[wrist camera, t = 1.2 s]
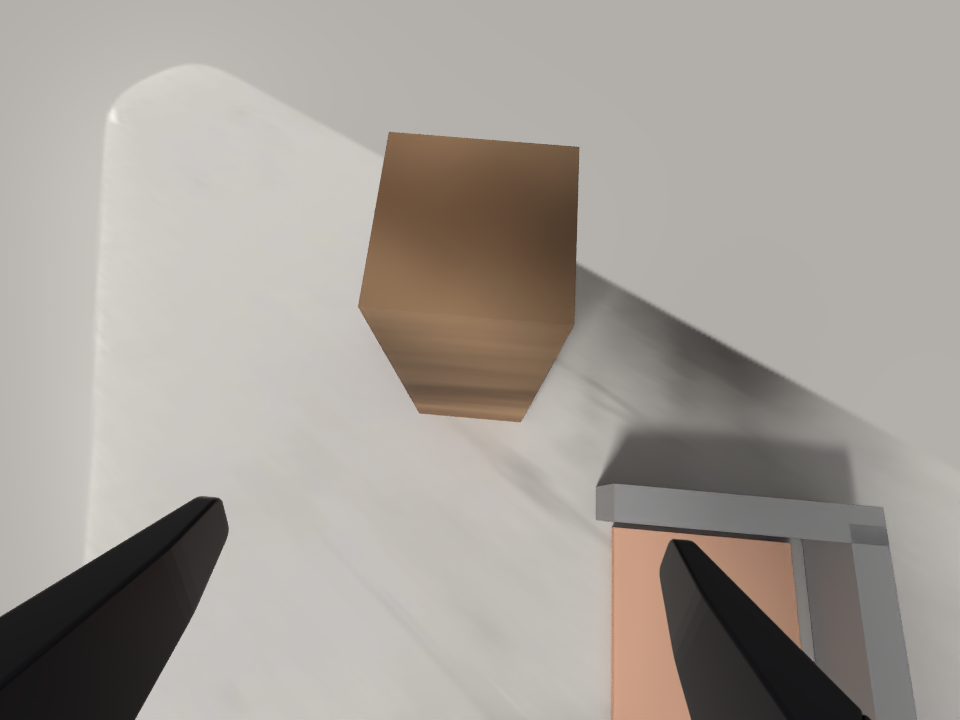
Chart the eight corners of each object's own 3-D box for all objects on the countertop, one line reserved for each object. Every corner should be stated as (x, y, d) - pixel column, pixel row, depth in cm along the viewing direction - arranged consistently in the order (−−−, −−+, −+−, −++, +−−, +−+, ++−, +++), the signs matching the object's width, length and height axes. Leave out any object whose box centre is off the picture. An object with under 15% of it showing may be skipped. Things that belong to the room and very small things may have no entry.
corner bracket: (878, 881, 18) (954, 951, 15) (591, 853, 18) (614, 917, 15) (830, 507, 22) (882, 507, 19) (596, 486, 22) (614, 483, 20)
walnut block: (520, 422, 23) (574, 325, 11) (419, 413, 23) (358, 306, 11) (526, 327, 25) (579, 146, 12) (431, 319, 25) (388, 132, 12)
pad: (807, 751, 19) (811, 754, 19) (611, 732, 19) (613, 735, 19) (786, 542, 22) (790, 543, 21) (612, 527, 22) (613, 527, 22)
